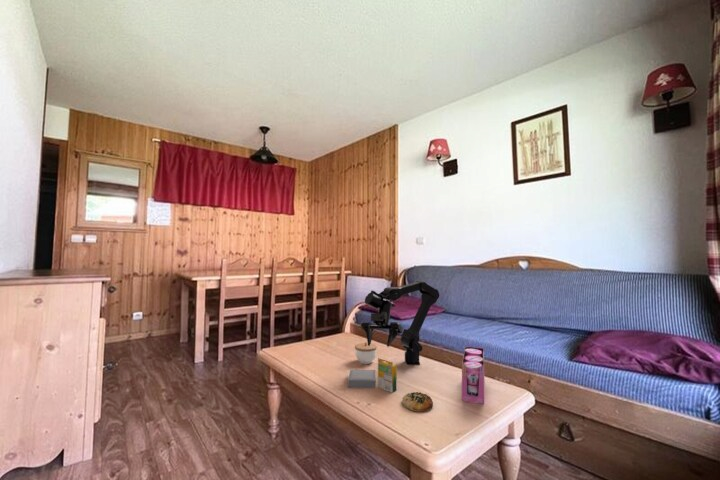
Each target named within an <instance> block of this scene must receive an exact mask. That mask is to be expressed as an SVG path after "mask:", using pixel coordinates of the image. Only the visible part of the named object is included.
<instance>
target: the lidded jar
mask: <svg viewBox="0 0 720 480" xmlns="http://www.w3.org/2000/svg"><path fill="white" fill-rule="evenodd" d="M354 349H355V350H354V351H355V357H356V359H357V361H359V363H360V364H363V365H369V364H372V362H373V361H374V360H375V359H376V356H377V349H378V347H377V345H376V344H375V343H372V342H371V344H370V346H368V342H367V341H366V342H360V343H357V344H355V345H354Z"/></svg>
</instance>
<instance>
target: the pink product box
mask: <svg viewBox="0 0 720 480" xmlns="http://www.w3.org/2000/svg"><path fill="white" fill-rule="evenodd" d="M484 349H485V348H484V347H483V348H482V347H475V346H465V347H464V351H463V352H464V353H463V357H462V362H461V400H462V401H464V402H469V403H474V404H480V403H481V405H485V356H484V355H485V350H484Z"/></svg>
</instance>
